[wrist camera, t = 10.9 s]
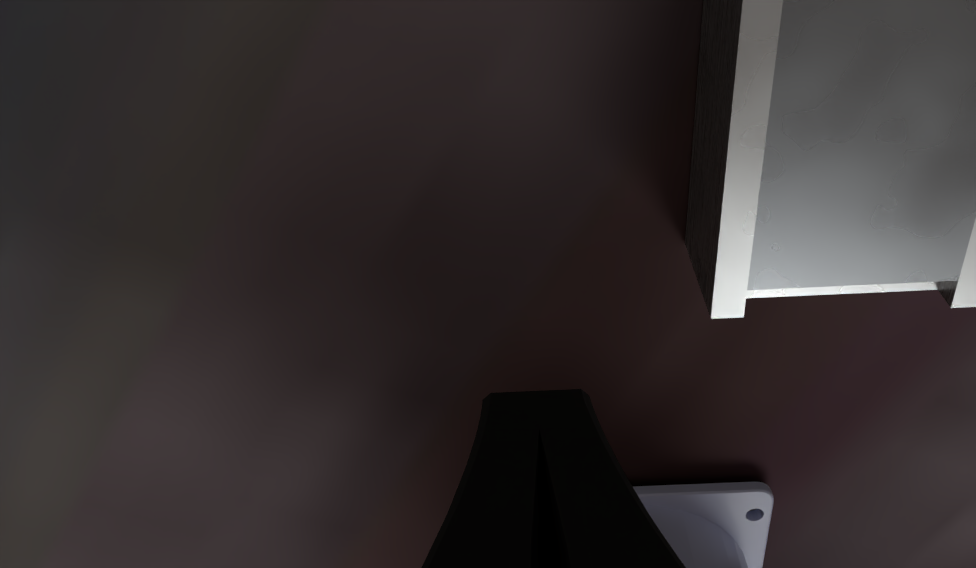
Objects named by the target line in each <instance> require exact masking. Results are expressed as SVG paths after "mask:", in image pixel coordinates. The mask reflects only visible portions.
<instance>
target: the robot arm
mask: <svg viewBox="0 0 976 568" xmlns="http://www.w3.org/2000/svg"><path fill="white" fill-rule="evenodd" d="M773 502H774V499H773V494H772V492H771V489H770V487H769V486H768V485H767V484H765V483H763V482H732V483H707V484H682V485H658V486H633V487H632V485H631V483H630V482H629V480H628V478H627V477H626V475H625V473H624V471H623V469H622V468H621V466H620V464H619V462H618V460H617V458H616V456H615V455H614V453H613V451H612V449H611V447H610V445H609V443H608V441H607V439H606V437H605V435H604V432H603V430H602V428H601V426H600V424H599V421H598V419H597V417H596V414H595V411H594V409H593V406H592V403H591V400H590V397H589V395H588V394H586V393H585V392H584V391H583V390H582V389H572V390H549V391H526V392H503V393H490V394H489V395H488V396H487V397H486V398H485V399H483V403H482V411H481V417H480V421H479V426H478V430H477V434H476V437H475V441H474V444H473V447H472V450H471V453H470V456H469V459H468V462H467V465H466V468H465V471H464V473H463V476H462V478H461V481H460V484H459V486H458V489H457V491H456V494H455V496H454V499H453V501H452V504H451V506H450V509H449V511H448V513H447V516H446V518H445V520H444V522H443V524H442V526H441V528H440V531H439V533H438V535H437V537H436V539H435V541H434V543H433V545H432V547H431V549H430V551H429V553H428V556H427V558H426V560H425V562H424V564H423V566H422V568H762V567H763V561H764V555H765V549H766V543H767V537H768V532H769V526H770V520H771V514H772V508H773ZM751 509H756V510H752V511H749V510H751Z"/></svg>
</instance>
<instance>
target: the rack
mask: <svg viewBox="0 0 976 568" xmlns="http://www.w3.org/2000/svg"><path fill="white" fill-rule="evenodd" d="M685 246H686V248H687V251H688V254H689V257H690V260H691V263H692V266H693V269H694V271H695V274H696V277H697V280H698V283H699V286H700V289H701V292H702V294H703V297H704V300H705V303H706V306H707V309H708V312H709V315H710V317H711V319H716V318H738V317H744V311H745V303H746V298H762V297H784V296H806V295H828V294H850V293H872V292H894V291H916V290H938V291H939V292H940V294H941V295H942V296H943V298H944V299H945V300H946V302H947V303H948V305H949V306H950V307H951V308H960V307H976V0H703V13H702V26H701V39H700V52H699V65H698V78H697V91H696V104H695V117H694V131H693V144H692V157H691V170H690V183H689V196H688V209H687V222H686V235H685Z"/></svg>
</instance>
